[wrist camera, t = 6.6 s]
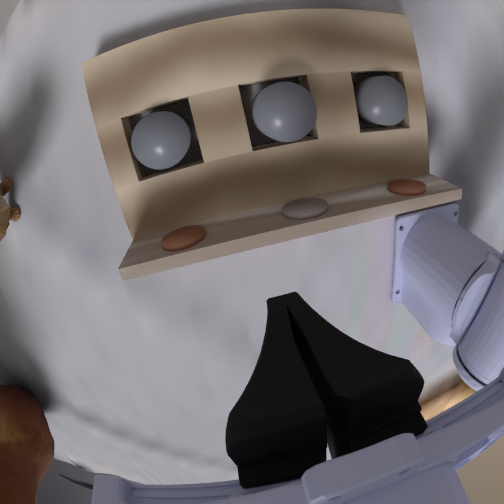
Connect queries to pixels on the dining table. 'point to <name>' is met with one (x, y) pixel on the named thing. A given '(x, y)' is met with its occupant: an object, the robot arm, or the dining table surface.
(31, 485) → the butternut squash
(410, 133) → the button board
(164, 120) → the button end
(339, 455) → the robot arm
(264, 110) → the button middle
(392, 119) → the button end
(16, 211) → the lion figurine
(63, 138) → the dining table surface
